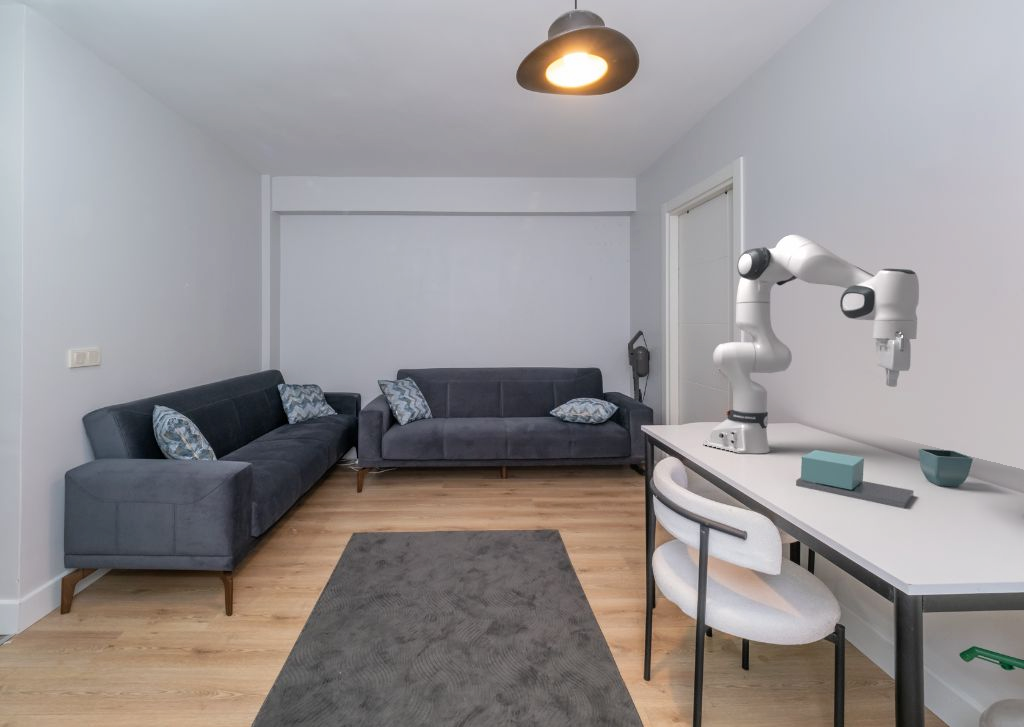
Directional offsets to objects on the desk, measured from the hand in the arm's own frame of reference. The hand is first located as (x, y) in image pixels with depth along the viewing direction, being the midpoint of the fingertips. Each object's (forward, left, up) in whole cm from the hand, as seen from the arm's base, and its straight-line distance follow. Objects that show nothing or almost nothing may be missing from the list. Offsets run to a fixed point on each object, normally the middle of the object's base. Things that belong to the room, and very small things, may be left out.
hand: (891, 386), depth 127 cm
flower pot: (+9, +26, -29) cm, 40 cm away
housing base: (-7, 0, -29) cm, 30 cm away
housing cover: (-12, 0, -27) cm, 30 cm away
